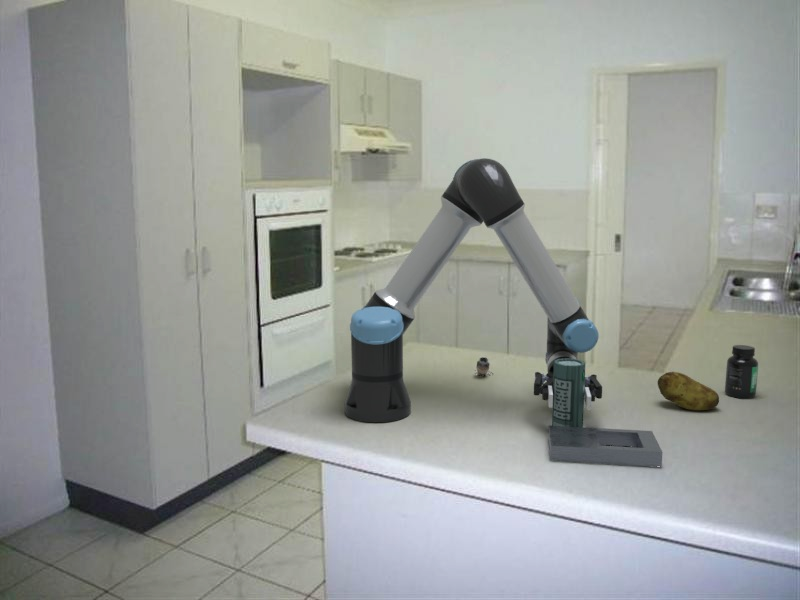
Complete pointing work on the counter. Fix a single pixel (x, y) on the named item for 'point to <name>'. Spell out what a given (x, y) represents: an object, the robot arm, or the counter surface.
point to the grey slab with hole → (587, 449)
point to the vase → (483, 367)
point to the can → (568, 392)
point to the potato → (687, 392)
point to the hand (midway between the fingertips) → (569, 402)
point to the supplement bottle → (741, 373)
